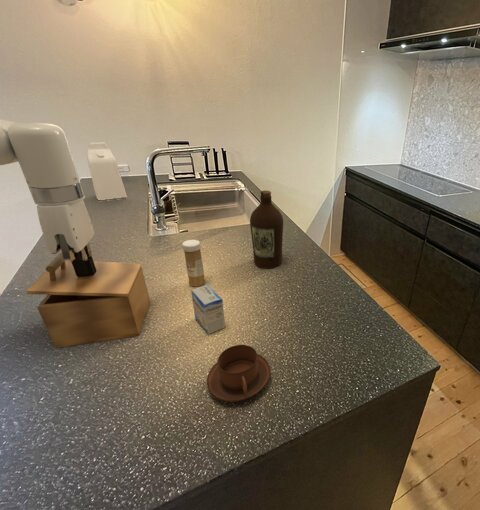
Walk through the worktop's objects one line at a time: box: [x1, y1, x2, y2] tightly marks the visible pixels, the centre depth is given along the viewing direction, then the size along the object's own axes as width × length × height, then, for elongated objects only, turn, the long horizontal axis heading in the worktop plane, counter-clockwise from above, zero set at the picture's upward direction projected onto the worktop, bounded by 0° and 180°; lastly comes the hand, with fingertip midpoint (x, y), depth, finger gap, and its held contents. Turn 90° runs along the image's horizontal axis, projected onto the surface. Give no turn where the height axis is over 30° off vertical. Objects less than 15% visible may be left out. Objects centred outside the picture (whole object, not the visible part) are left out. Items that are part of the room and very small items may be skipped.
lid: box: [26, 252, 142, 297], centre depth 67 cm, size 16×14×4 cm
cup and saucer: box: [206, 344, 271, 403], centre depth 60 cm, size 12×12×6 cm
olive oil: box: [249, 190, 284, 269], centre depth 101 cm, size 11×11×25 cm
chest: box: [36, 266, 151, 349], centre depth 71 cm, size 16×14×11 cm
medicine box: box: [190, 284, 226, 335], centre depth 74 cm, size 8×4×9 cm, turn 44°
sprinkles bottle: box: [181, 239, 206, 287], centre depth 88 cm, size 5×5×14 cm
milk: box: [86, 142, 128, 201], centre depth 149 cm, size 12×12×26 cm
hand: (87, 274), depth 67 cm, fingers closed
